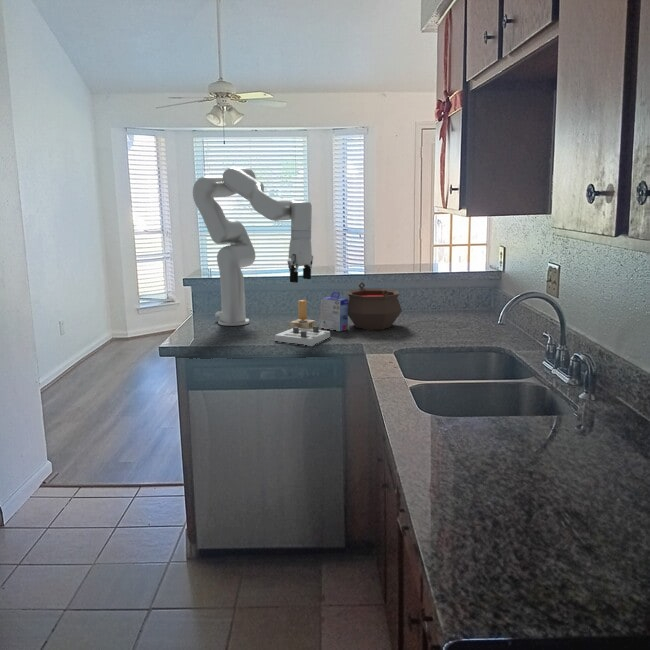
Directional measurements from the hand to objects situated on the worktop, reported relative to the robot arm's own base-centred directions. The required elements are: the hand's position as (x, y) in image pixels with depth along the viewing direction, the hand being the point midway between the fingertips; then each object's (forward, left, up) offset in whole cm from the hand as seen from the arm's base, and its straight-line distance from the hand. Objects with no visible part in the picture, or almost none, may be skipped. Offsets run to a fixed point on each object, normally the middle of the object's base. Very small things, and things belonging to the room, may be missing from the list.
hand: (300, 280), depth 248 cm
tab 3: (+11, -8, -18) cm, 22 cm away
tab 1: (+5, -12, -18) cm, 22 cm away
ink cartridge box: (+10, +9, -20) cm, 24 cm away
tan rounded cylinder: (+1, 0, -20) cm, 20 cm away
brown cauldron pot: (+21, +21, -20) cm, 36 cm away
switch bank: (+8, -12, -20) cm, 24 cm away
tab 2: (+11, -16, -18) cm, 27 cm away
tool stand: (+1, 0, -20) cm, 20 cm away
